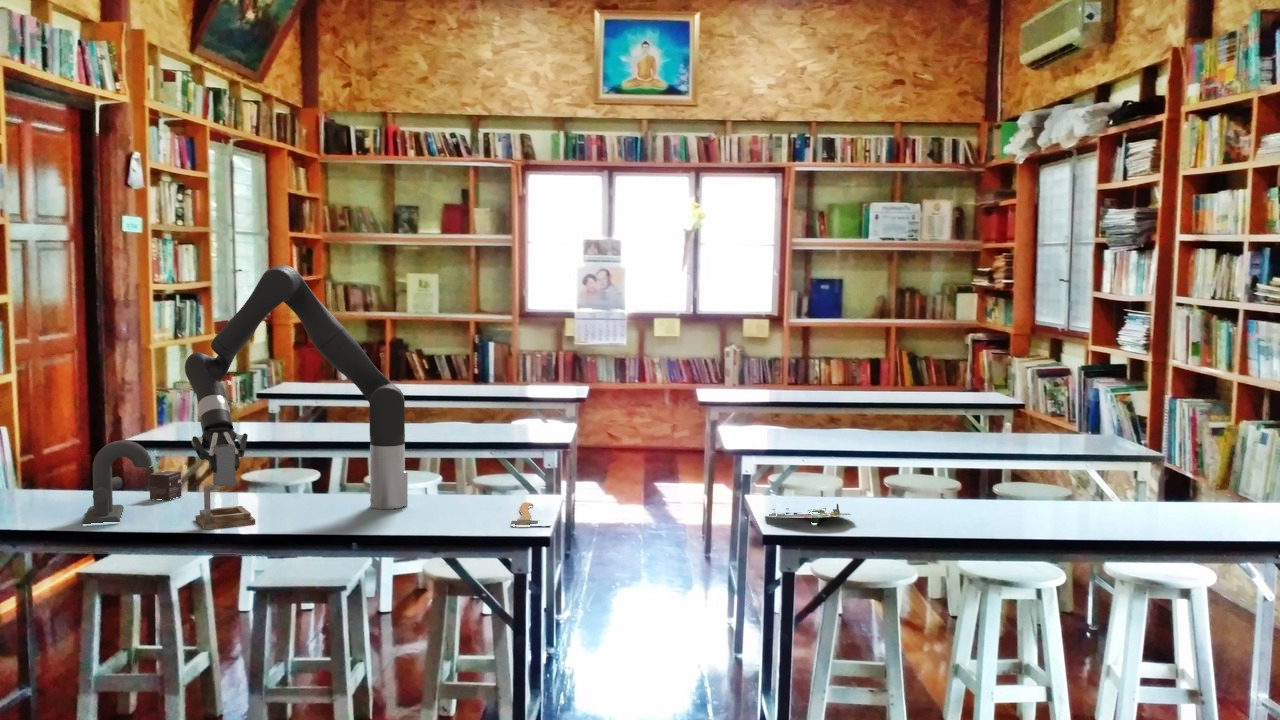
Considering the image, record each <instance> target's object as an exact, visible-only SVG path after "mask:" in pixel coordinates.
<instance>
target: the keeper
mask: <svg viewBox="0 0 1280 720" xmlns="http://www.w3.org/2000/svg"><path fill="white" fill-rule="evenodd" d="M218 489H219V487H218V485H214V484H209V485H205V486H204V488H203V499H204V502H203V504H204V505H203V508H204V509H199V514H198V515H197V514H196V515H195V517H194V518H195V521H196V523H198V524H199V526H201V527H202V528H203V529H204V530H206V531H207V530H213V529H222V528H223V529H224V528H231V527H241V526H250V525H256V519H255V518H254V517H253V516H252V514H251V512H250V511H249V510H247V509H246V508H245V507H243V506H242V505H238V506H235V505H234V506H227V507H225V506H224V507H217V508H216V507H215V508H211V491H214V490H215V491H216V490H218Z"/></svg>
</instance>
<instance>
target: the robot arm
mask: <svg viewBox="0 0 1280 720" xmlns="http://www.w3.org/2000/svg"><path fill="white" fill-rule="evenodd" d="M282 303H284V304H286V305H287V306H288V308H290V310H291V311H292V312H294V314H295V315H296V317H298V319H299V320H300V322H301V324H302V326H303V328H304V330H305V332H306V334H307V336H308V338H309V340H310V341H311V343H312V345H313V346H314V347H315V349H316V350H317V351H318V352H319V353H320V354H321V355H322V357H323V358H325V360H326V361H327V362H328V364H330V365H331V366H332V367H334V368H335V369H336V370H337V371H338V372H340V373H341V374H342V375H343V376H344V377H346V378H347V379H348V380H350V381H351V382H352V383H353V384H354V385H355V386H356V387H357V388H358V390H359V391H360V392H361V394H362V395H363V397H364V398H365V399H366V400H367V402H368V404H369V411H368V412H369V415H368V417H369V443H370V445H369V456H370V457H369V462H370V464H369V465H370V467H369V477H370V478H369V480H370V484H369V485H370V487H369V491H370V493H369V494H370V500H369V501H370V503H369V504H370V508H371V509H375V510H376V509H377V510H394V508H396V509H400V507H401V508H403V506H404V507H408V499H409V497H408V496H409V495H408V494H409V493H408V490H409V489H408V486H409V485H408V482H409V481H408V471H406V468H405V467H406V463H405V462H406V457H405V456H406V455H405V454H406V452H405V451H406V450H405V449H406V448H405V447H406V445H405V443H406V440H405V439H406V432H405V431H406V429H405V427H406V426H405V424H406V423H405V413H406V412H405V411H406V410H405V409H406V407H405V404H406V403H405V395H404V393H403V391H402V390H401V389H400V388H399V387H398V386H396V385H395V384H394V383H393V382H392V381H391V380H390V379H389V378H387V376H385V375H384V374H383V373H382V372H381V371H380V370H379V369H378V368H377V367H376V365H374V363H373V362H372V360H371V359H370V357H369V356H368V354H367V353H366V352H365V351H364V349H363V348H362V346H361V345H360V344H359V342H357V341H356V339H355V338H354V337H353V336H352V334H351V333H350V332H349V331H348V330H347V329H346V328H345V326H344V325H342V324H341V322H339V320H338V319H337V318H336V317H335V316H334V315H333V314H332V312H331V311H329V309H328V308H327V307H326V306H325V305H324V304H323V303H322V302H321V301H320V300H319V299H318V298H317V296H316V295H315V294H314V292H313V291H312V289H311V288H310V287H309V285H308V284H307V282H306V281H305V279H304V278H303V277H302V275H301V274H300V273H299V271H298V270H296V269H295V268H293V267H292V266H290V265H287V264H278V265H276V266H273V267H272V268H269V269H268V270H266V271H265V272H264V273H263V274H262V276H261V278H260V279H259V280H258V283H257V284H256V286H255V288H254V289H253V291H252V292H251V294H250V295H249V297H248V298H247V300H246V302H245V303H244V304H243V305H242V307H240V309H239V310H238V311H237V312H236V314H234V315H233V317H232V318H231V319H230V320H229V321H228V322H227V323H226V325H224V326H223V328H222V329H221V330H220V331H219V332H218V333H217V334H216V335H215V337H214V338H213V339H212V341H211V343H210V347H211V349H212V351H213V352H214V353H215V354H216V355H217V356H216V357H213V356H210V355H208V354H205V353H203V352H199V351H198V352H193V353H191V354H190V355H189V356H187V359H186V360H185V363H184V373H185V376H186V377H187V381H188V382H189V384H190V386H191V387H192V389H193V391H194V393H195V394H196V395H195V396H196V399H197V400H196V401H197V407H198V418H199V421H200V426H201V431H202V435H201V436H196V435H195V436H192V437H191V443H190V444H191V446H192V449H193V450H194V451H195V453H196V455H197V456H198V458H199V459H200V460H201V461H204V460H206V461H208V465H209V466H208V467H209V470H210V471H212V474H213V473H215V472H216V471H217V464H216V459H215V456H214V446H213V445H218V444H232V445H234V446H235V472H237V471H238V470H239V469H240V465H241V461H240V458H244V456H245V453H246V448H247V442H248V438H249V437H248V436H249V434H248V433H245V432H244V433H243V434H238V433H237V432H236V431H235V429H234V425H233V419H232V415H231V410H230V406H229V403H228V400H227V398H226V397H227V396H226V391H225V388H224V385H223V384H222V383H221V382H222V381H223V380H224V379H225V378H226V375H227V374H228V371H229V370H230V367H231V365H232V363H233V361H234V359H235V356H236V355H238V353H239V352H240V351H241V349H243V347H244V346H245V345H246V344H247V343H248V342H249V340H250V339H251V338H252V336H253V335H254V333H255V332H256V330H257V329H258V327H259V326H260V324H261V323H262V322H263V321H264V320H265V319H266V317H267V316H268V315H269V314H270V313H271V312H273V310H275V309H276V308H277V307H278V306H280V305H281V304H282ZM236 440H237V442H238V444H239V445H240V446H239V449H237V447H236V444H235V441H236ZM203 443H204V444H205V445H206V446H207V447H208V448H209V450H208V452H207V451H206V449H205V448H204V446H203Z"/></svg>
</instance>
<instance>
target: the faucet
mask: <svg viewBox="0 0 1280 720" xmlns="http://www.w3.org/2000/svg"><path fill="white" fill-rule="evenodd" d="M120 458H126V459H128V460H130V461H131V463H132V464H133V466H134V467H136V468H151V466H153V461H152V458H151V456H150V454H149V452H148V451H147V449H145V448H144V446H143V445H140V444H139V443H137V442H134V441H130V440H125V439H124V440H123V439H122V440H115V441H112V442H110V443H107V444H105V445H104V446H103V447H102V448H101V449H100V450H98V452H97V454H96V455H95V456H94V458H93V459H94V460H93V462H92V499H93V504H92V506H89V507H88V508H87V511H86V513H85V514H84V518H83V520H82V522H81V525H82V524H91V523H103V522H120V523H121V521H120V518H121V519H122V517H121V515H122V516H123V514H122V512H123V513H124V511H123V509H124V510H125V508H124V505H122V504H113V503H114V501H113V491H115V490H119V489H121V488H122V487H123V484H124V483H123V480H122V478H121V477H120V476H114V477H113V470H112V469H113V468H112V467H113V463H114V462H115V461H116V460H117V459H120Z"/></svg>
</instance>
